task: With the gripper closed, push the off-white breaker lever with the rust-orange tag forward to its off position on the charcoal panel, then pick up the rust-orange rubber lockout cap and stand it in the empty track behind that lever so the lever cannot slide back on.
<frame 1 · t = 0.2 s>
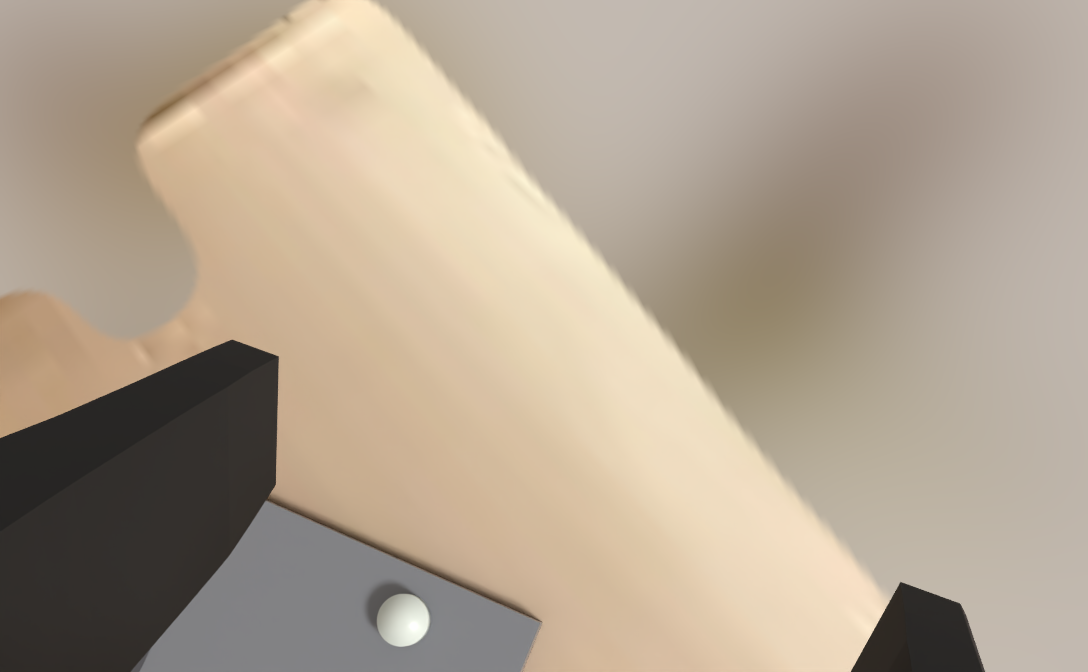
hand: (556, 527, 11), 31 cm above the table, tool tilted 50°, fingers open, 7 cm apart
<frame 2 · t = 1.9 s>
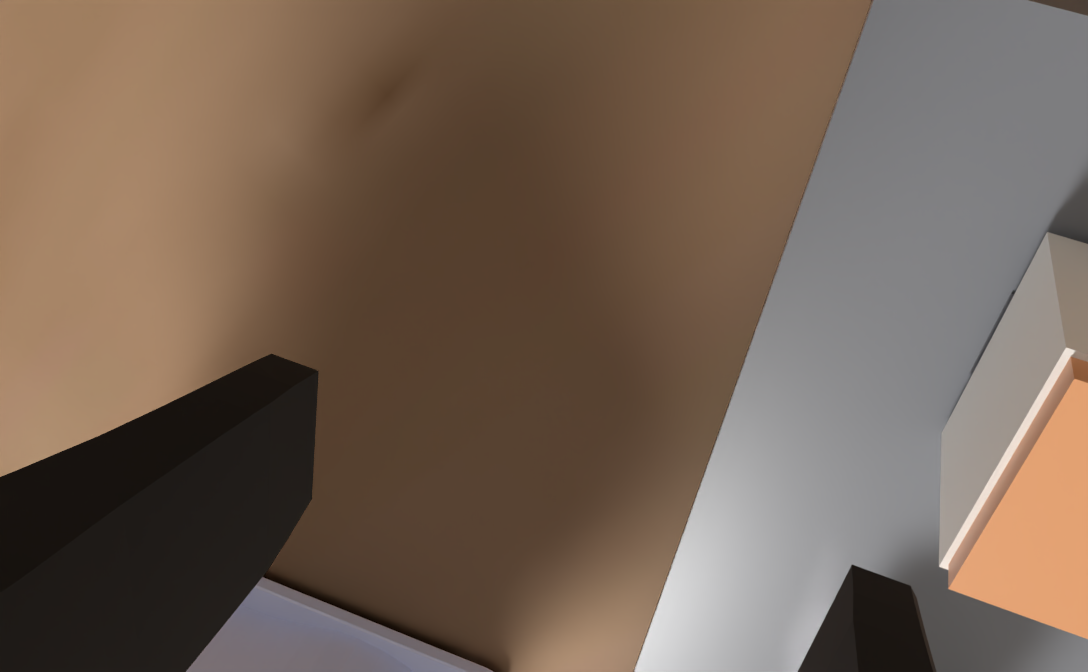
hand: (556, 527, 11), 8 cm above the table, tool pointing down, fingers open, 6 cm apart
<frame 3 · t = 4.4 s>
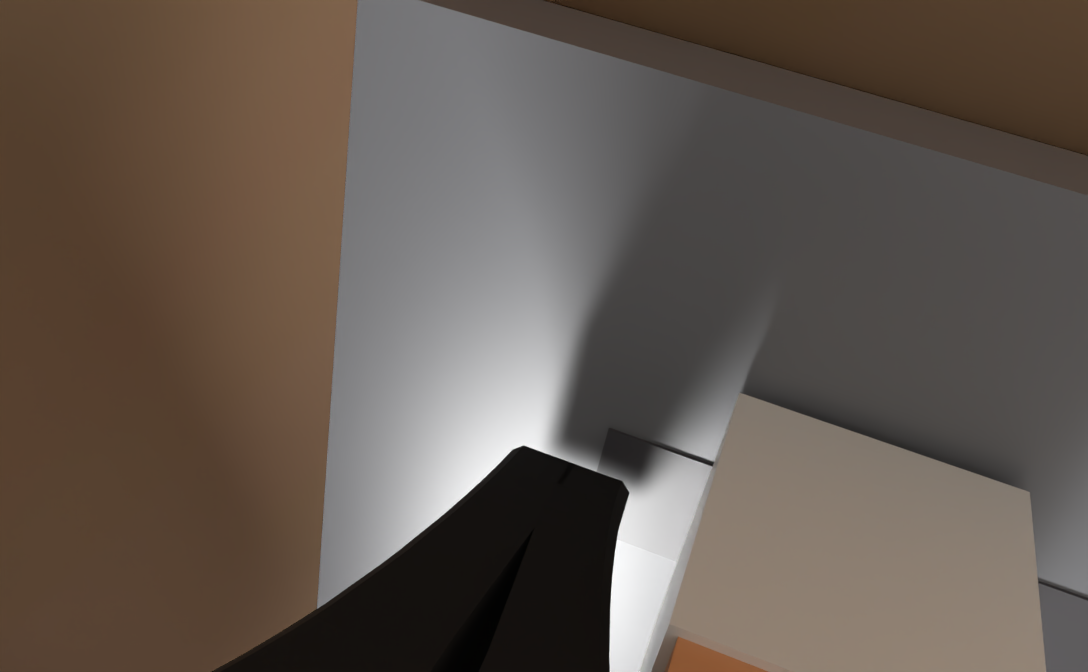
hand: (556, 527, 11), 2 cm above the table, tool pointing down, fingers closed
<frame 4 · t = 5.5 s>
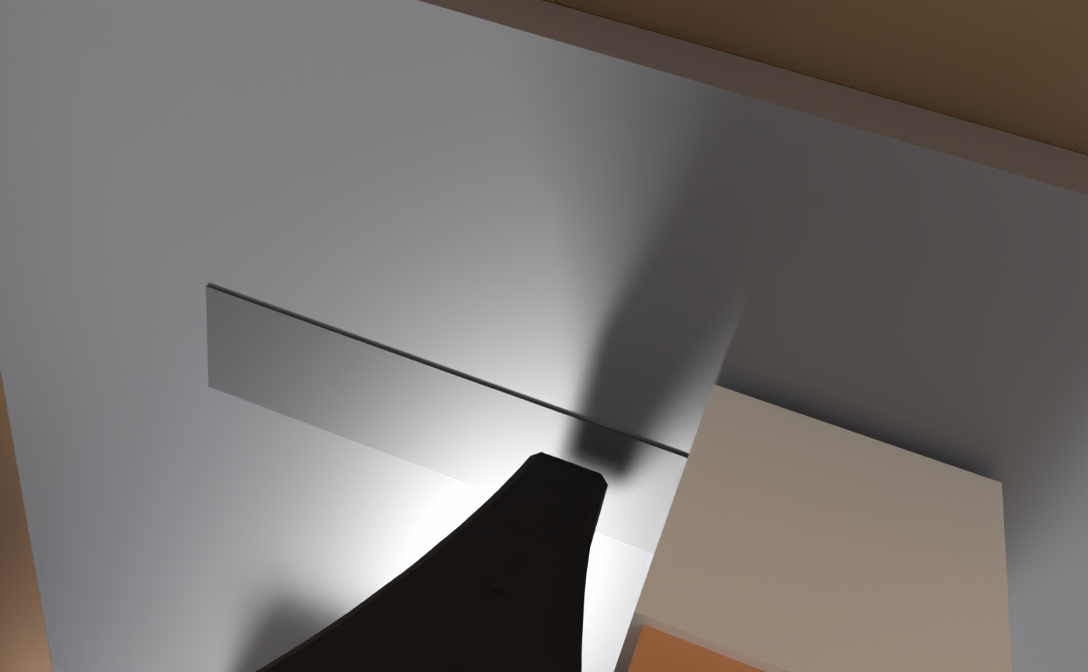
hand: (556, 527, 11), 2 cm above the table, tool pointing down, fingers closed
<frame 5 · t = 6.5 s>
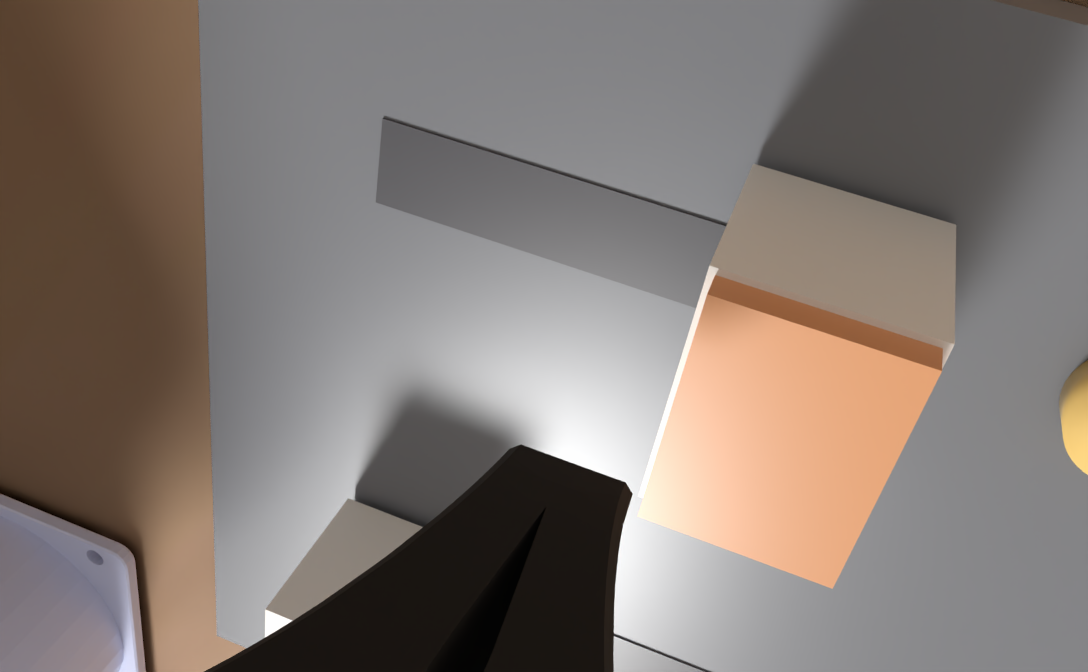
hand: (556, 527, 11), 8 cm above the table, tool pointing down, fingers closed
cream rectangular block: (369, 639, 22), point 3 cm above the table, slide at 0.0 cm
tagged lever: (793, 370, 15), point 3 cm above the table, slide at 6.1 cm
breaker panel: (635, 449, 20), on the table
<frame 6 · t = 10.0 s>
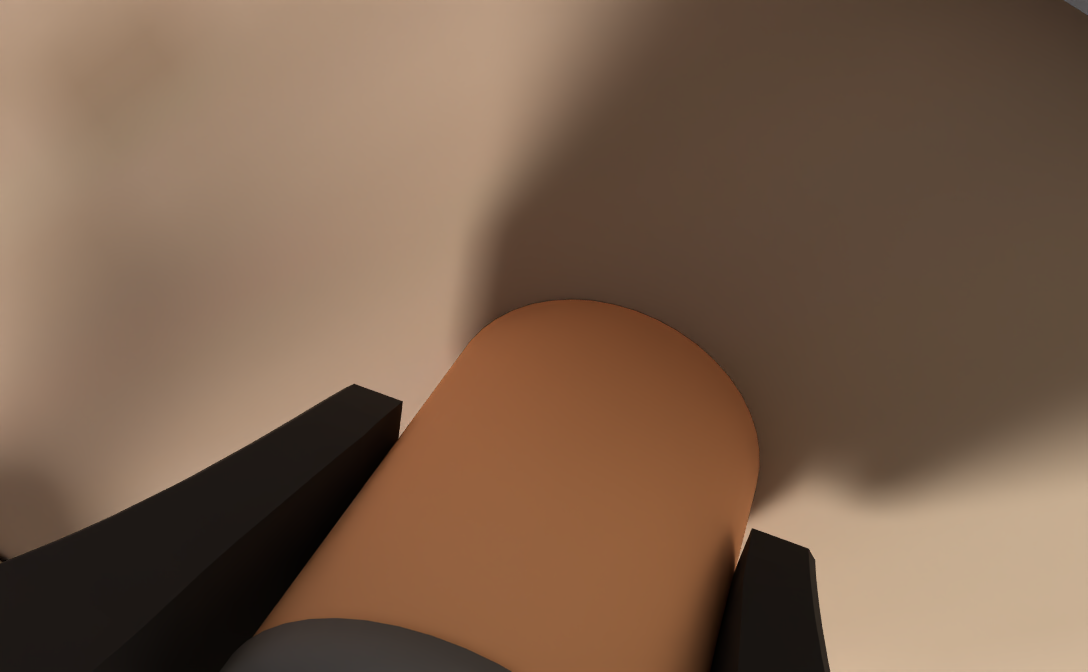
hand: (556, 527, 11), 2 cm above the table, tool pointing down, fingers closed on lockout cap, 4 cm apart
lockout cap: (597, 440, 13), on the table, touching gripper
when the fingers open (4 cm above the table, at t = 15.4 s): lockout cap drops 1 cm, resting on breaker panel.
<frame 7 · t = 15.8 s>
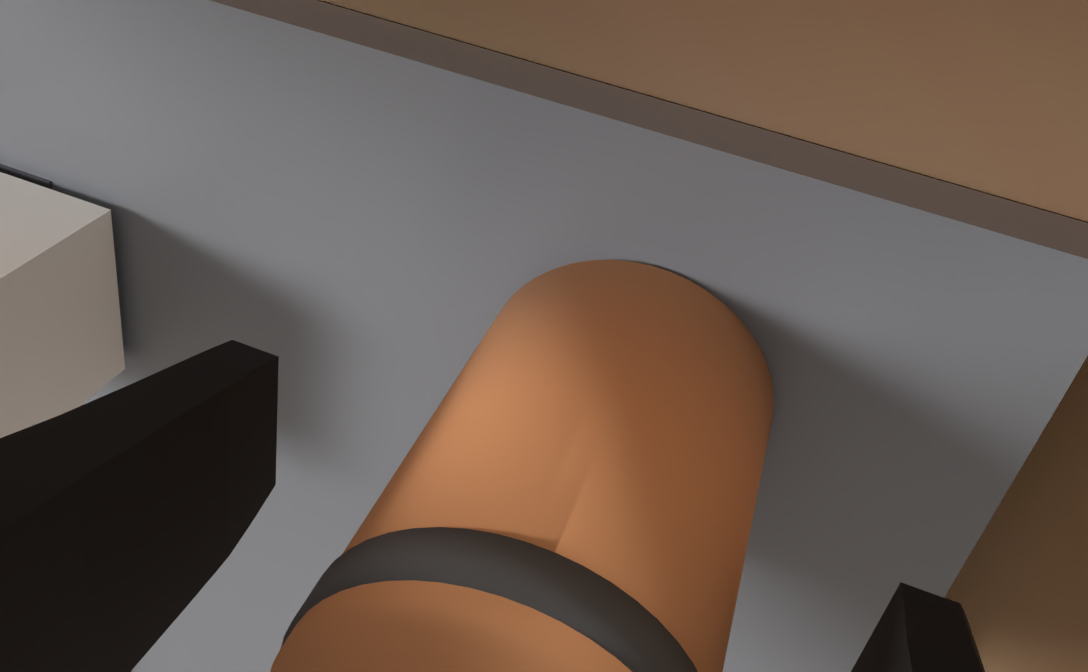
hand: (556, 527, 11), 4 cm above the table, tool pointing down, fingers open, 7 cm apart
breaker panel: (319, 493, 19), on the table
lockout cap: (624, 390, 14), point 1 cm above the table, touching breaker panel
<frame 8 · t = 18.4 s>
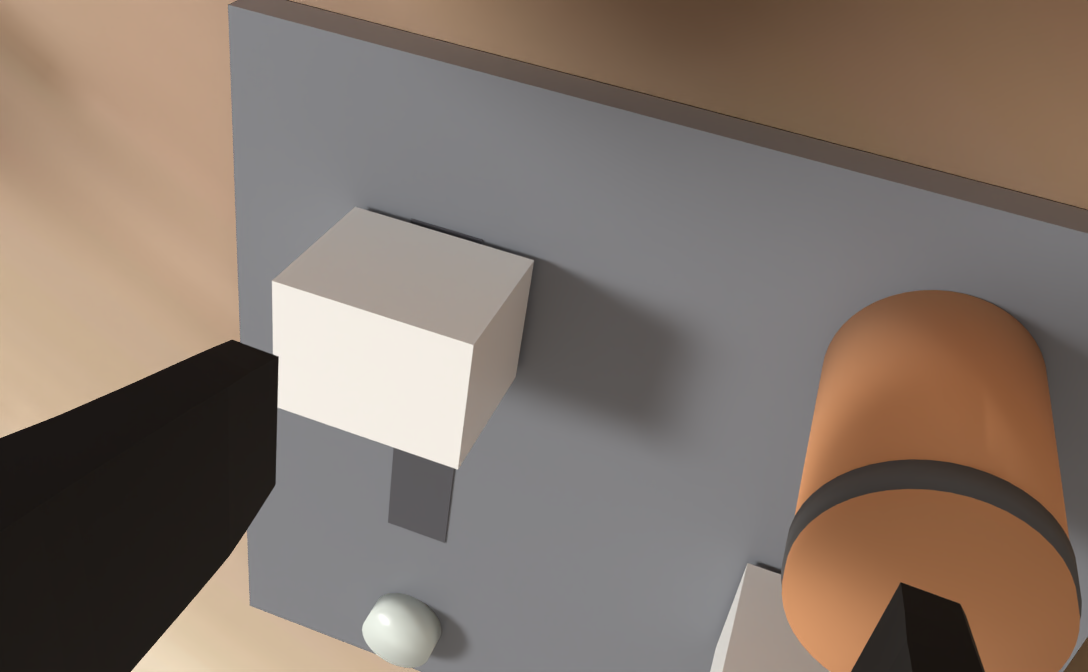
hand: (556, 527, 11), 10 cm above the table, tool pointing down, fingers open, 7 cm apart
cream rectangular block: (404, 332, 21), point 3 cm above the table, slide at 0.0 cm
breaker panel: (637, 469, 24), on the table
lockout cap: (930, 382, 20), point 1 cm above the table, touching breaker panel
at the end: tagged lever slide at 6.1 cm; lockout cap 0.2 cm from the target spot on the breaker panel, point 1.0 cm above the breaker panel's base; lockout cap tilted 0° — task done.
